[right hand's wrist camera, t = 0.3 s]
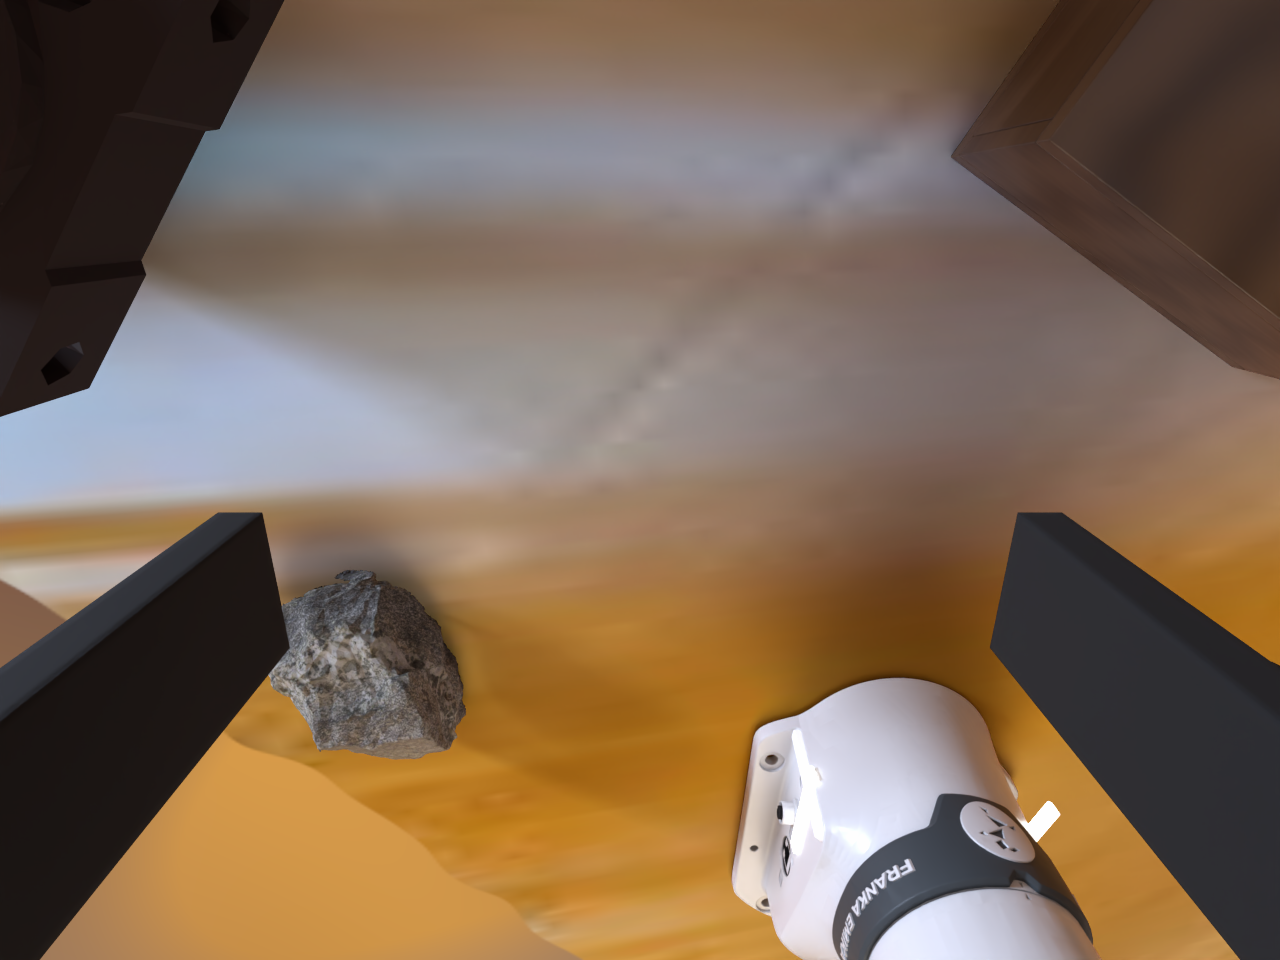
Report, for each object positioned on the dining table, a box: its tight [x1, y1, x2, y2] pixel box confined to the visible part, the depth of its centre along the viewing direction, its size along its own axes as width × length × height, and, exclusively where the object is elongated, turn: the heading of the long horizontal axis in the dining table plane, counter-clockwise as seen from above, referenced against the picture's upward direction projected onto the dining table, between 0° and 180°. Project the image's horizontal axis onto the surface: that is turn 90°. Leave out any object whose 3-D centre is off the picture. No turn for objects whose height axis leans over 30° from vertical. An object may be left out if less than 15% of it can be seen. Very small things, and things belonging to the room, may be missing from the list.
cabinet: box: [951, 0, 1280, 379], centre depth 31 cm, size 20×10×9 cm, turn 58°
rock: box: [269, 570, 466, 759], centre depth 42 cm, size 13×9×6 cm, turn 44°
